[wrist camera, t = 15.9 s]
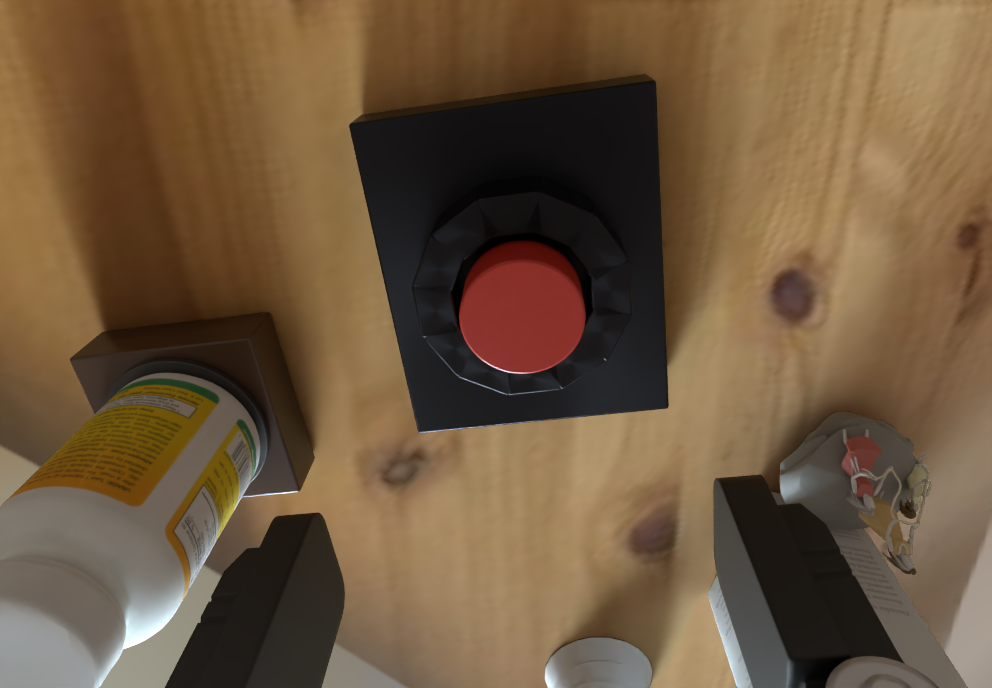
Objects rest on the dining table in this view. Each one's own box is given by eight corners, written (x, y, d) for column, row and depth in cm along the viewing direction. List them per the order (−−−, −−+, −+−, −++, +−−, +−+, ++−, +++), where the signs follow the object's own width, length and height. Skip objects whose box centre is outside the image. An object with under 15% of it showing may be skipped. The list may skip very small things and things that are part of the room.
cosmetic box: (798, 608, 31) (940, 931, 21) (704, 592, 31) (799, 910, 20) (856, 501, 29) (1054, 809, 18) (753, 482, 28) (893, 783, 18)
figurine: (766, 499, 29) (822, 617, 23) (762, 407, 27) (822, 513, 21) (903, 481, 28) (992, 598, 23) (909, 386, 26) (1009, 489, 21)
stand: (101, 331, 26) (62, 362, 24) (270, 311, 26) (246, 341, 24) (162, 473, 29) (132, 513, 27) (316, 458, 29) (298, 498, 26)
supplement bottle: (295, 448, 25) (178, 684, 17) (193, 515, 27) (38, 763, 18) (181, 337, 24) (-15, 539, 15) (79, 417, 25) (-151, 641, 17)
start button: (454, 246, 21) (449, 267, 20) (575, 231, 21) (580, 252, 19) (473, 353, 23) (469, 381, 21) (586, 341, 22) (590, 368, 21)
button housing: (359, 114, 23) (333, 135, 19) (647, 73, 22) (668, 88, 19) (423, 409, 27) (411, 463, 24) (660, 385, 27) (678, 438, 23)
